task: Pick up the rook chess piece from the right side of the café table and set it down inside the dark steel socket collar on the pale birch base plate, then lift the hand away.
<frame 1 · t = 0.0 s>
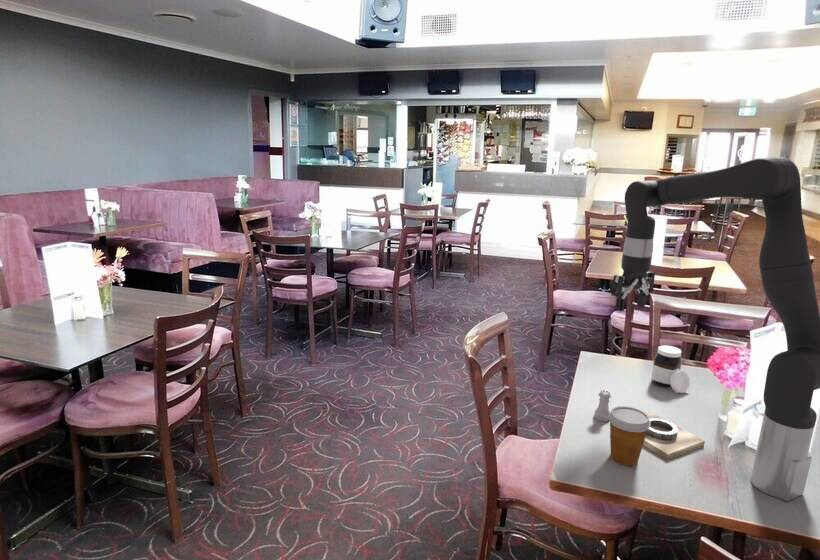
hand: (630, 308, 154), 29 cm above the table, fingers open, 8 cm apart
spread jar: (669, 386, 173), on the table
birch base plate: (658, 437, 143), on the table
steel socket collar: (660, 429, 142), on the birch base plate, point 2 cm above the table
rook chess piece: (602, 418, 152), on the table
disposable coffee cup: (623, 459, 133), on the table
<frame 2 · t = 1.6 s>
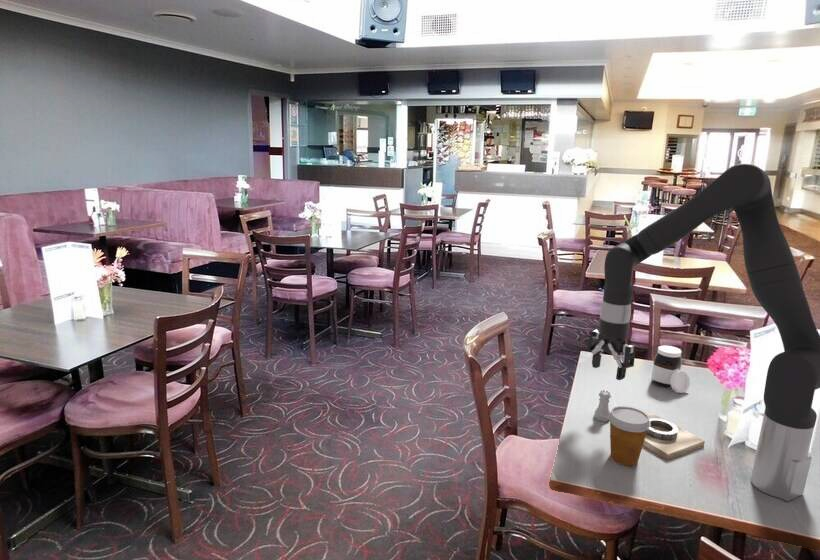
hand: (607, 373, 149), 14 cm above the table, fingers open, 8 cm apart
nothing on the table moved.
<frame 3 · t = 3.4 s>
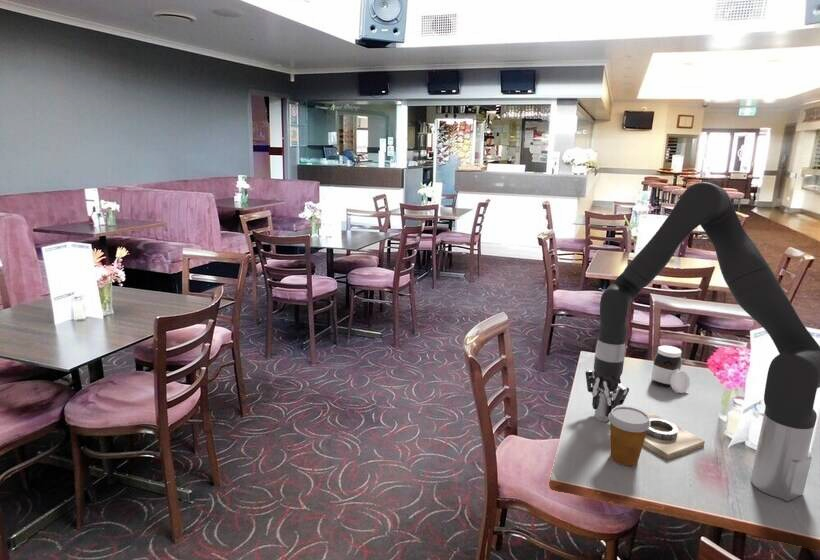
hand: (602, 412, 151), 2 cm above the table, fingers closed on rook chess piece, 4 cm apart
rook chess piece: (602, 418, 152), on the table, touching gripper
everything else where it was.
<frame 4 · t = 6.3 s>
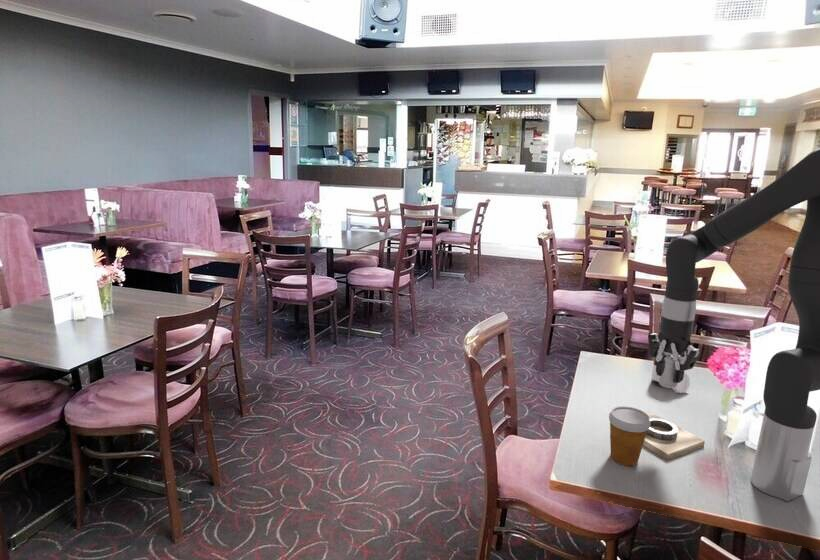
hand: (668, 378, 138), 17 cm above the table, fingers closed on rook chess piece, 4 cm apart
rook chess piece: (667, 385, 139), point 15 cm above the table, touching gripper
everything else where it was.
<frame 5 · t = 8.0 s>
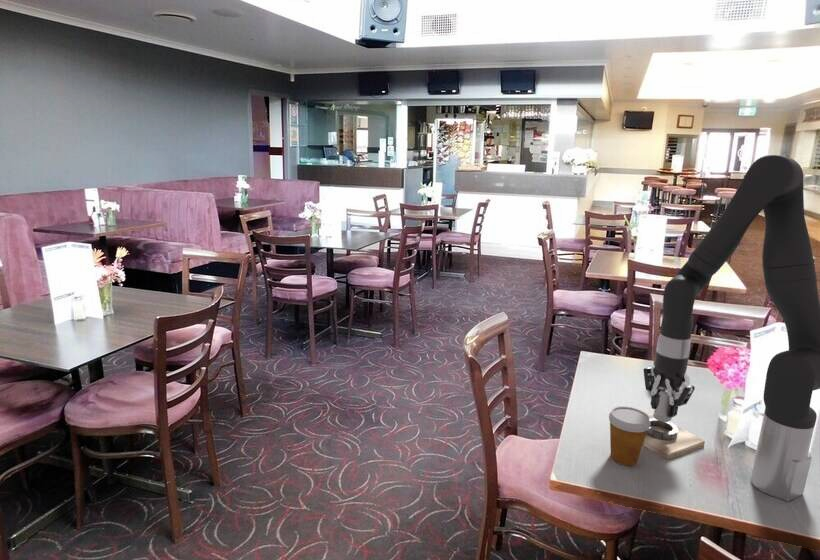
hand: (662, 412, 141), 7 cm above the table, fingers closed on rook chess piece, 4 cm apart
rook chess piece: (661, 419, 141), point 5 cm above the table, touching gripper
everything else where it was.
when the fingers open (5 cm above the table, at t = 9.4 s): rook chess piece drops 1 cm, resting on birch base plate.
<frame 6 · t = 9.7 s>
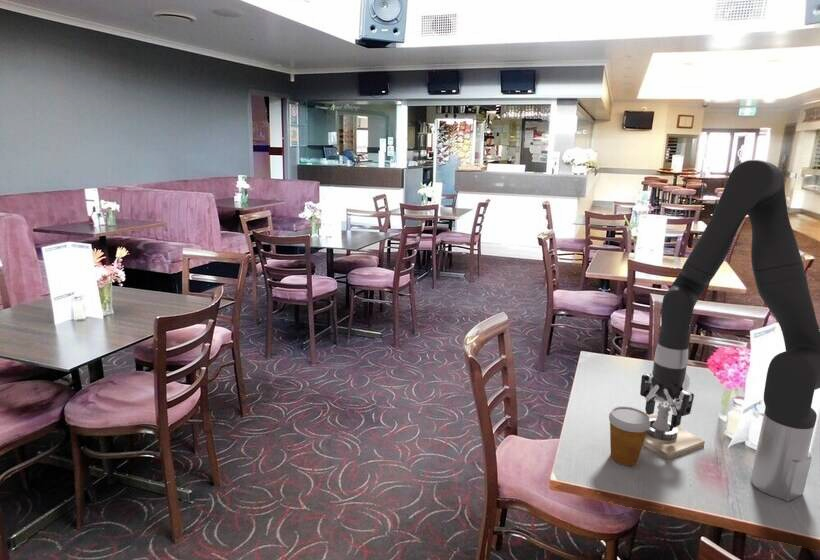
hand: (661, 419, 141), 5 cm above the table, fingers open, 7 cm apart
rook chess piece: (660, 432, 142), point 1 cm above the table, touching birch base plate
everything else where it was.
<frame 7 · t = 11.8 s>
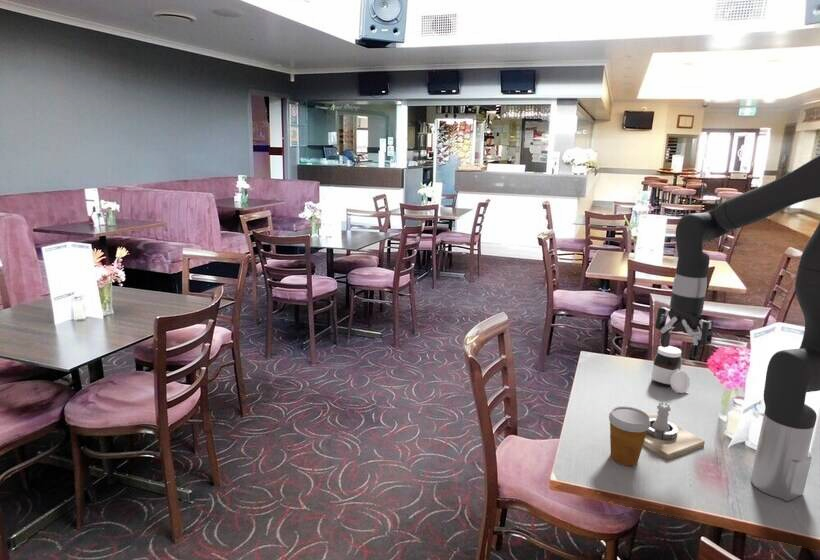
hand: (679, 352, 140), 23 cm above the table, fingers open, 8 cm apart
nothing on the table moved.
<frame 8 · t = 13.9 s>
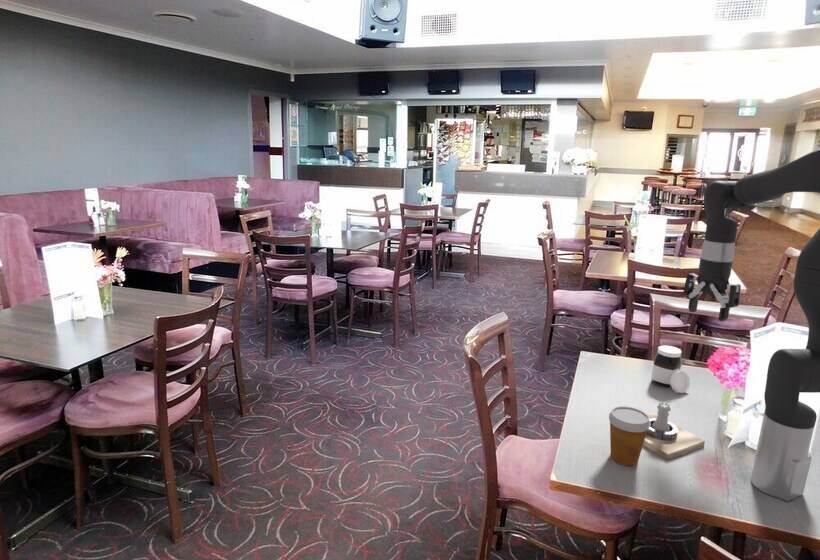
hand: (706, 315, 146), 30 cm above the table, fingers open, 8 cm apart
nothing on the table moved.
at the end: rook chess piece 0.1 cm off-centre on the steel socket collar, point 1.3 cm above the steel socket collar's base; rook chess piece tilted 0°; the gripper is holding nothing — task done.
